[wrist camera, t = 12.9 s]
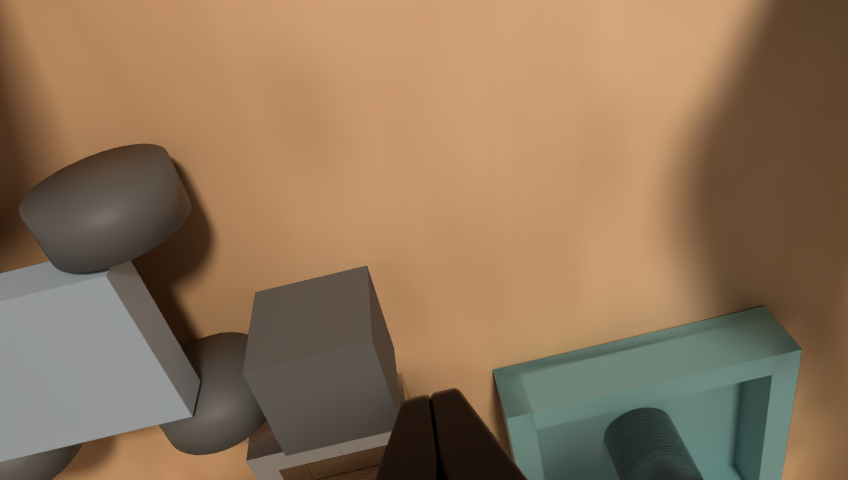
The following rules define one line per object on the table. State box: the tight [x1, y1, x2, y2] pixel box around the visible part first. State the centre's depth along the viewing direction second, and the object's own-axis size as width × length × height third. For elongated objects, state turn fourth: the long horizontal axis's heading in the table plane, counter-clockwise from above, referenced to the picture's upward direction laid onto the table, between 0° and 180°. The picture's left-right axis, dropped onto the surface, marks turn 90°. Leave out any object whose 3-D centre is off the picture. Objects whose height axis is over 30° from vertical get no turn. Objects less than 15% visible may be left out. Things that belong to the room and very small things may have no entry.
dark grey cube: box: [243, 266, 400, 456], centre depth 23 cm, size 4×4×4 cm
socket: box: [246, 373, 410, 480], centre depth 27 cm, size 6×6×2 cm
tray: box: [493, 306, 802, 480], centre depth 28 cm, size 11×10×2 cm
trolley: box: [0, 144, 267, 480], centre depth 19 cm, size 11×9×8 cm
